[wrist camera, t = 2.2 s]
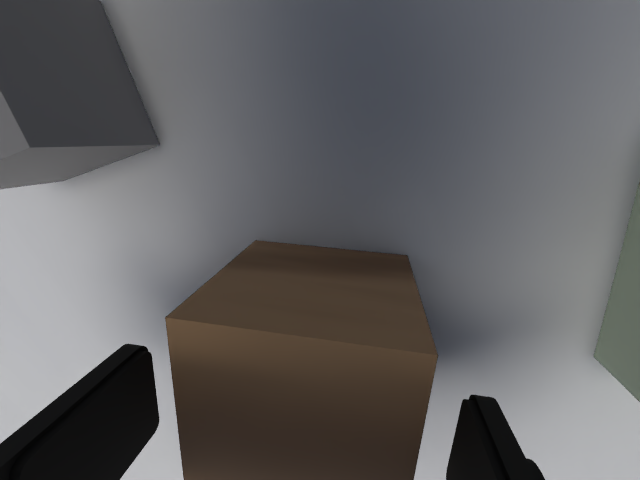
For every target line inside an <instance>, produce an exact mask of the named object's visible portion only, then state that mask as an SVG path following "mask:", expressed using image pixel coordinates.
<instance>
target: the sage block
mask: <svg viewBox="0 0 640 480" xmlns="http://www.w3.org/2000/svg"><path fill="white" fill-rule="evenodd" d="M594 358H595V359H596V360H597V361H598V362H599V363H600V364H602V365H603V366H604V367H605V368H606V369H607V370H608V371H609V372H610V373H611V374H612V375H613V376H614V377H615V378H616V379H617V380H618V381H619V382H620V383H621V384H622V385H623V386H624V387H625V388H626V389H627V390H628V391H629V392H630V393H631V394H632V395H633V396H634V397H635V398H636V399H637V400H638V401H639V402H640V181H639V185H638V188H637V192H636V196H635V200H634V204H633V208H632V211H631V215H630V219H629V223H628V227H627V231H626V234H625V238H624V242H623V246H622V250H621V254H620V257H619V261H618V265H617V269H616V273H615V277H614V280H613V284H612V288H611V292H610V296H609V299H608V303H607V307H606V311H605V315H604V319H603V322H602V326H601V330H600V334H599V338H598V342H597V345H596V349H595V353H594Z"/></svg>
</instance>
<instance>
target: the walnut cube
mask: <svg viewBox="0 0 640 480" xmlns="http://www.w3.org/2000/svg"><path fill="white" fill-rule="evenodd" d="M165 319H166V328H167V337H168V346H169V354H170V363H171V372H172V380H173V389H174V398H175V407H176V415H177V424H178V433H179V442H180V450H181V459H182V468H183V477H184V480H413V479H414V474H415V469H416V464H417V459H418V454H419V449H420V444H421V439H422V434H423V429H424V424H425V419H426V414H427V408H428V403H429V398H430V393H431V388H432V383H433V378H434V373H435V368H436V363H437V358H438V354H437V351H436V347H435V344H434V341H433V338H432V334H431V331H430V328H429V325H428V321H427V318H426V315H425V312H424V308H423V305H422V302H421V298H420V295H419V292H418V289H417V285H416V282H415V279H414V276H413V272H412V269H411V266H410V263H409V259H408V256H407V255H397V254H387V253H377V252H367V251H357V250H347V249H337V248H327V247H317V246H307V245H297V244H287V243H277V242H267V241H257V240H255V241H254V242H253V243H252V244H251V245H250V246H248V247H247V248H246V249H245V250H244V251H243V252H241V253H240V254H239V255H238V256H237V257H236V258H234V259H233V260H232V261H231V262H230V263H229V264H227V265H226V266H225V267H224V268H223V269H222V270H220V271H219V272H218V273H217V274H216V275H214V276H213V277H212V278H211V279H210V280H209V281H207V282H206V283H205V284H204V285H203V286H202V287H200V288H199V289H198V290H197V291H196V292H195V293H193V294H192V295H191V296H190V297H189V298H188V299H186V300H185V301H184V302H183V303H182V304H181V305H179V306H178V307H177V308H176V309H175V310H174V311H172V312H171V313H170V314H169V315H168V316H166V317H165Z"/></svg>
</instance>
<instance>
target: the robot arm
mask: <svg viewBox="0 0 640 480" xmlns="http://www.w3.org/2000/svg"><path fill="white" fill-rule="evenodd" d="M158 424H159V413H158V405H157V396H156V388H155V379H154V371H153V362H152V355H151V353H150V352H148V349H147V348H146V347H145V346H139V345H133V344H125V345H123V346H122V347H121V348H119V349H118V350H117V351H116V352H114V353H113V354H112V355H111V356H109V357H108V358H107V359H106V360H104V361H103V362H102V363H101V364H99V365H98V366H97V367H96V368H94V369H93V370H92V371H91V372H89V373H88V374H87V375H86V376H84V377H83V378H82V379H81V380H79V381H78V382H77V383H76V384H74V385H73V386H72V387H71V388H69V389H68V390H67V391H66V392H64V393H63V394H62V395H61V396H59V397H58V398H57V399H56V400H54V401H53V402H52V403H51V404H49V405H48V406H47V407H46V408H44V409H43V410H42V411H41V412H39V413H38V414H37V415H36V416H34V417H33V418H32V419H31V420H29V421H28V422H27V423H26V424H24V425H23V426H22V427H21V428H19V429H18V430H17V431H16V432H14V433H13V434H12V435H11V436H9V437H8V438H7V439H6V440H4V441H3V442H2V443H1V444H0V480H120V478H121V477H122V476H123V474H124V473H125V472H126V470H127V469H128V468H129V466H130V465H131V464H132V462H133V461H134V460H135V458H136V457H137V456H138V454H139V453H140V452H141V450H142V449H143V448H144V446H145V445H146V444H147V442H148V441H149V440H150V438H151V437H152V436H153V435H154V433H155V432H156V430H157V427H158ZM446 480H545V479H544V477H543V475H542V473H541V471H540V469H539V468H538V466H537V465H536V463H534V462H533V461H532V460H531V459H526V458H525V456H524V454H523V452H522V450H521V448H520V446H519V444H518V442H517V440H516V438H515V436H514V434H513V432H512V430H511V428H510V426H509V424H508V422H507V420H506V418H505V416H504V414H503V412H502V410H501V408H500V406H499V404H498V402H497V401H496V399H494V398H492V397H485V396H478V395H471V396H470V397H469V400H466V399H464V400H463V401H462V405H461V409H460V414H459V418H458V423H457V427H456V432H455V436H454V440H453V445H452V449H451V454H450V458H449V463H448V467H447V473H446Z"/></svg>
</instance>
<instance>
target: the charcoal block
mask: <svg viewBox="0 0 640 480" xmlns="http://www.w3.org/2000/svg"><path fill="white" fill-rule="evenodd" d="M159 145H160V143H159V141H158V139H157V136H156V134H155V131H154V129H153V127H152V124H151V122H150V119H149V117H148V114H147V112H146V110H145V107H144V105H143V102H142V100H141V98H140V95H139V93H138V90H137V88H136V86H135V83H134V81H133V78H132V76H131V73H130V71H129V69H128V66H127V64H126V61H125V59H124V57H123V54H122V52H121V49H120V47H119V45H118V42H117V40H116V37H115V35H114V32H113V30H112V28H111V25H110V23H109V20H108V18H107V16H106V13H105V11H104V8H103V6H102V4H101V2H100V1H99V0H0V189H6V188H13V187H21V186H29V185H36V184H44V183H52V182H60V181H64V180H67V179H70V178H72V177H75V176H78V175H80V174H83V173H86V172H89V171H91V170H94V169H97V168H99V167H102V166H105V165H107V164H110V163H113V162H116V161H118V160H121V159H124V158H126V157H129V156H132V155H135V154H137V153H140V152H143V151H145V150H148V149H151V148H154V147H156V146H159Z"/></svg>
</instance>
